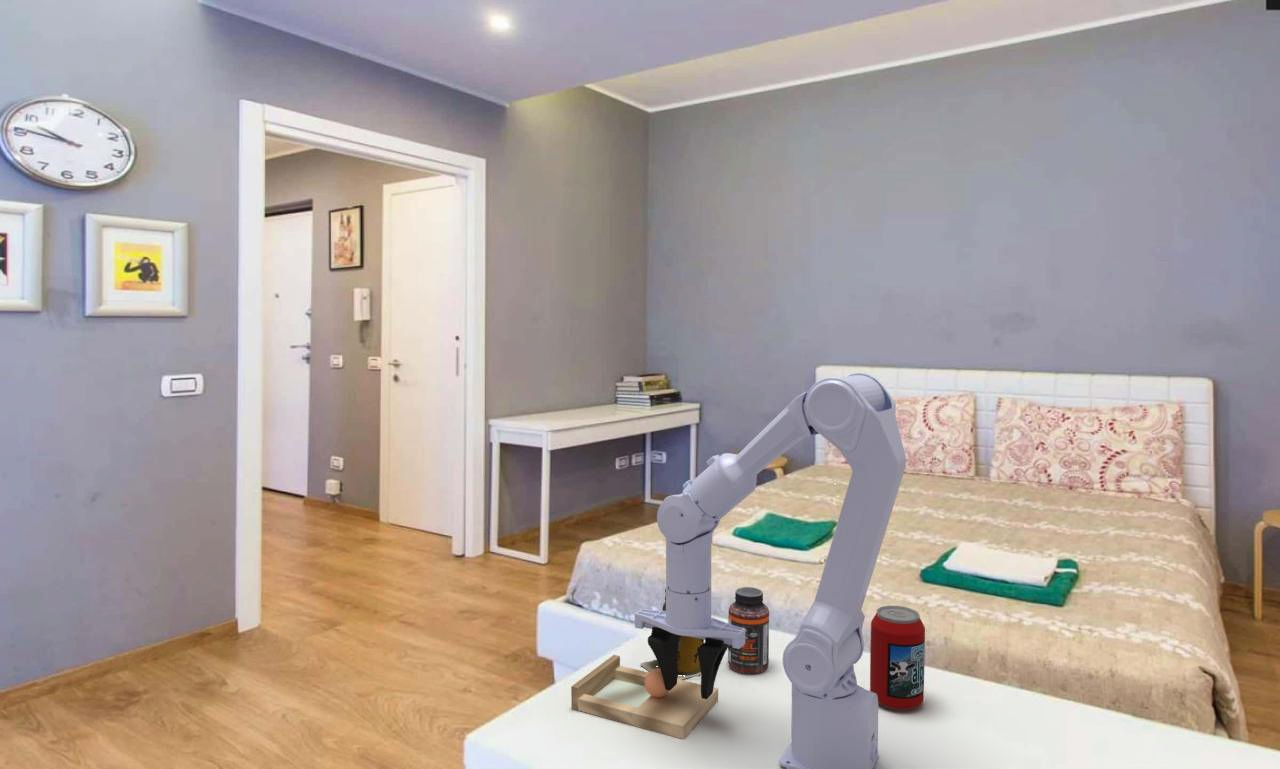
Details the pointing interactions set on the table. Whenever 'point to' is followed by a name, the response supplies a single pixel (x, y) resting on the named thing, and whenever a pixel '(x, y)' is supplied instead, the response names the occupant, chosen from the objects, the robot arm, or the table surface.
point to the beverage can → (897, 657)
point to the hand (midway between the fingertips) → (688, 691)
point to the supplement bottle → (750, 631)
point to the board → (640, 700)
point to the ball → (655, 683)
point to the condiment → (683, 656)
